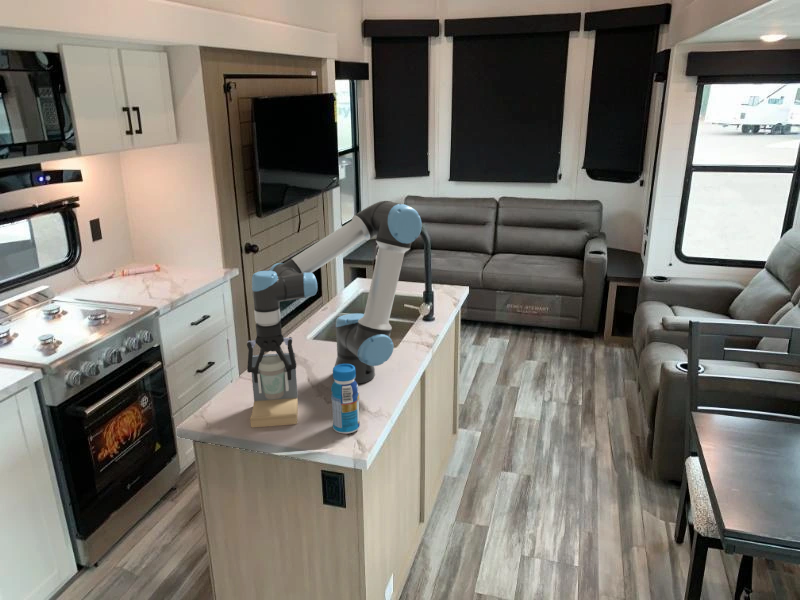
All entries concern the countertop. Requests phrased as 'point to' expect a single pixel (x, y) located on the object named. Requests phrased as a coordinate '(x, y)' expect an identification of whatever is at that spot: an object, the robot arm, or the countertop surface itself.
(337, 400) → the beverage bottle
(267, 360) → the coffee cup
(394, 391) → the countertop surface
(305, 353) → the countertop surface
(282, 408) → the grey board on stand
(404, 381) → the countertop surface
